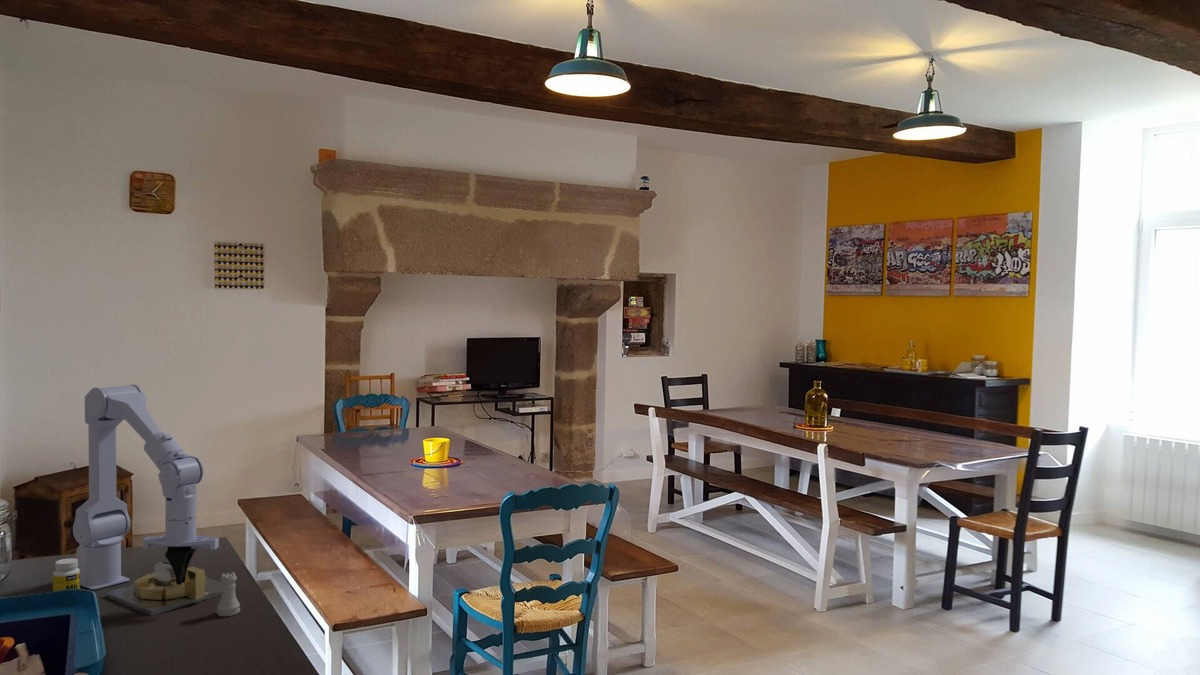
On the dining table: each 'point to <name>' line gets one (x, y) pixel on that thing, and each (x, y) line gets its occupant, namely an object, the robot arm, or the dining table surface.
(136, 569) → the dining table surface
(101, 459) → the robot arm
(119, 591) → the flange plate
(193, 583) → the tan hexagonal frame
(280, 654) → the dining table surface
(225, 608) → the rook chess piece
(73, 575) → the supplement bottle
